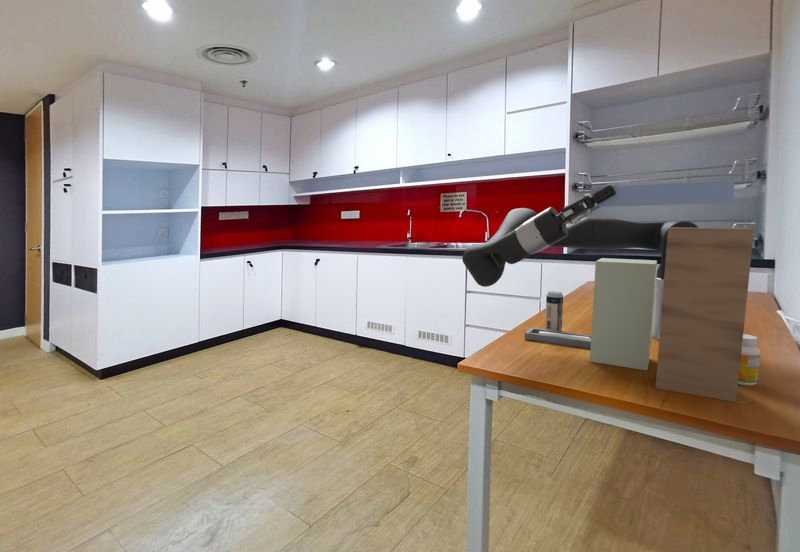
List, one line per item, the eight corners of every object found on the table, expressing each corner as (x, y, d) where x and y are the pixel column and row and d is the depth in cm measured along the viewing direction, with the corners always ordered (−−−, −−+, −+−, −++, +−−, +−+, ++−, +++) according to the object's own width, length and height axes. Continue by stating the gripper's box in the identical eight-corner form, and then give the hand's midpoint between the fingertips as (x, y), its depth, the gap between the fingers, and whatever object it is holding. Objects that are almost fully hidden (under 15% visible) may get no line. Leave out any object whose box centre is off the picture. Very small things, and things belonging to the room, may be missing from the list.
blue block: (593, 207, 96) (593, 188, 95) (731, 202, 83) (732, 181, 82) (589, 207, 92) (590, 187, 92) (733, 202, 79) (734, 179, 79)
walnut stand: (657, 376, 96) (668, 227, 91) (731, 388, 89) (748, 228, 85) (655, 388, 89) (668, 228, 85) (736, 402, 82) (754, 228, 78)
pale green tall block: (596, 350, 114) (601, 258, 111) (649, 358, 108) (657, 260, 104) (589, 361, 105) (595, 261, 102) (647, 370, 99) (655, 264, 96)
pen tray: (531, 333, 131) (531, 327, 131) (613, 344, 119) (613, 338, 119) (524, 339, 125) (524, 332, 125) (609, 351, 114) (610, 344, 113)
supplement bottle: (718, 377, 95) (722, 333, 94) (741, 376, 96) (746, 332, 94) (739, 386, 90) (744, 339, 89) (763, 385, 90) (769, 339, 89)
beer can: (562, 334, 130) (564, 294, 129) (545, 333, 131) (547, 293, 130) (560, 330, 135) (562, 291, 133) (543, 329, 136) (545, 291, 134)
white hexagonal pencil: (599, 349, 119) (538, 341, 126) (600, 344, 120) (540, 335, 128) (599, 342, 117) (537, 334, 125) (600, 337, 119) (539, 329, 126)
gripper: (557, 243, 106) (628, 205, 96) (541, 248, 94) (620, 205, 85) (541, 216, 107) (610, 176, 98) (523, 218, 95) (600, 171, 86)
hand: (614, 189), depth 91 cm, fingers closed on blue block, 4 cm apart
